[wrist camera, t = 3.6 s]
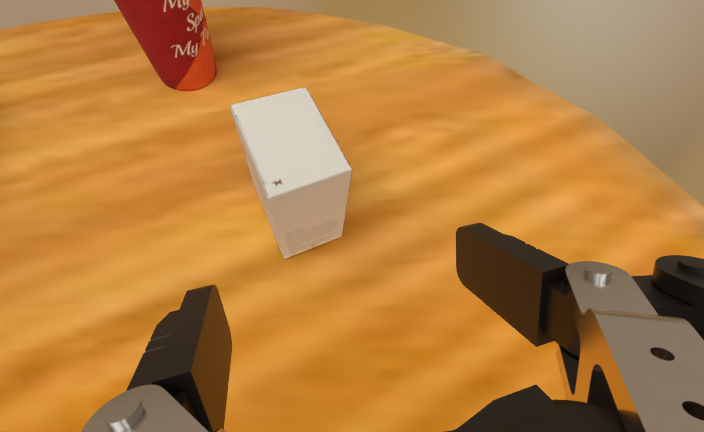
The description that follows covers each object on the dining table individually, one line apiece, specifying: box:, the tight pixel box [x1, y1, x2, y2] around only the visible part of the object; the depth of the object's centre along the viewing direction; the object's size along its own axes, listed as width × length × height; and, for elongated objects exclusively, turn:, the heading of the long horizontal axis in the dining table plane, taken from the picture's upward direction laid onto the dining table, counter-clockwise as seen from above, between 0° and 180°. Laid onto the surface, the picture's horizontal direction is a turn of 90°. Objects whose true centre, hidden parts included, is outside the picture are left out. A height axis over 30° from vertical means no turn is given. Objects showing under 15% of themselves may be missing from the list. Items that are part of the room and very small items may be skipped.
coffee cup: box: [114, 0, 216, 91], centre depth 30 cm, size 8×8×15 cm
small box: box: [230, 87, 352, 259], centre depth 26 cm, size 8×6×10 cm
